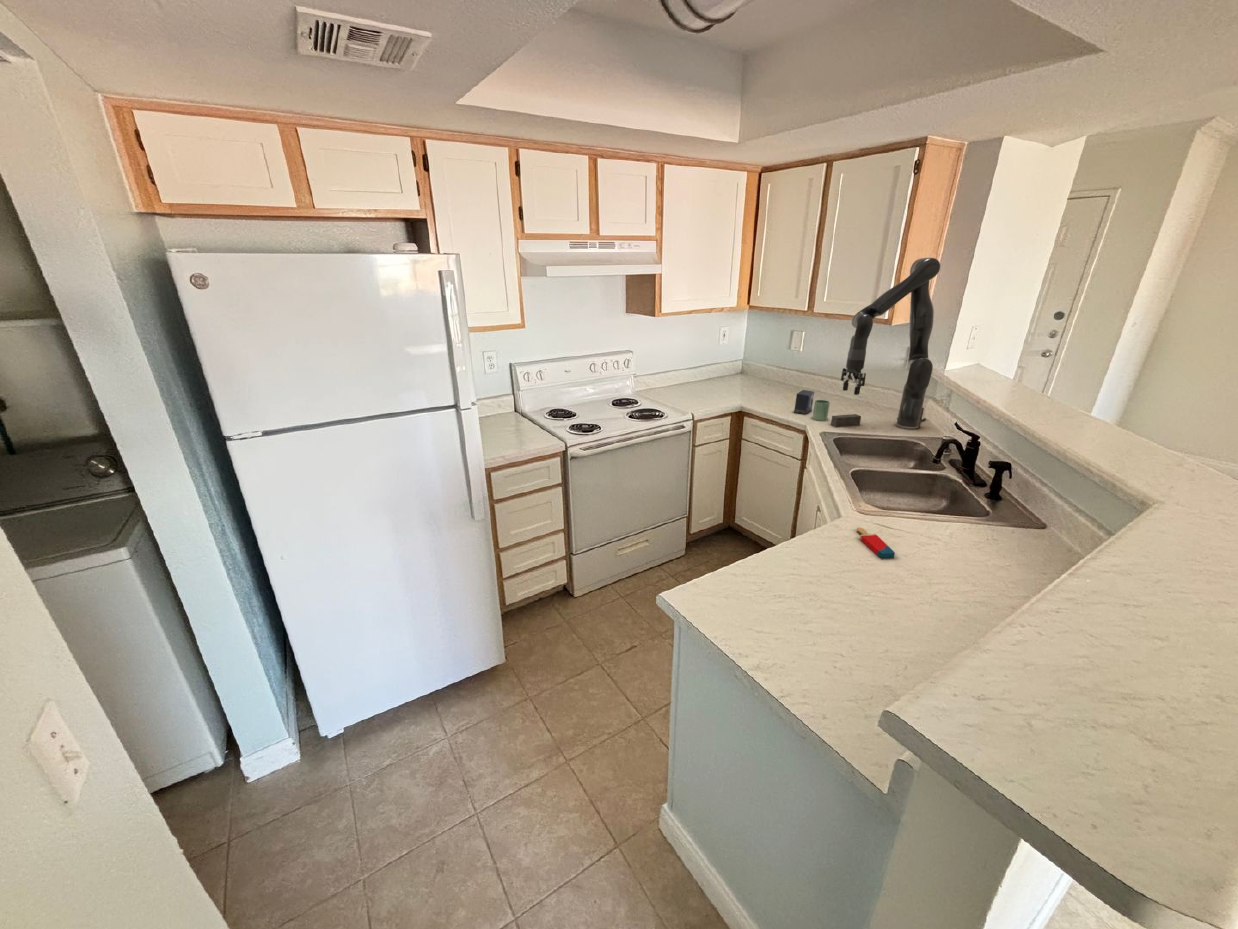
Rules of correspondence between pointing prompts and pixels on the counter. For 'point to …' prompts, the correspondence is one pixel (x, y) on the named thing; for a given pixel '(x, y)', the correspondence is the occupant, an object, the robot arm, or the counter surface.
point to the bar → (845, 420)
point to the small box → (804, 402)
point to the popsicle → (876, 544)
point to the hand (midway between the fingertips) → (850, 392)
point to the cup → (821, 410)
